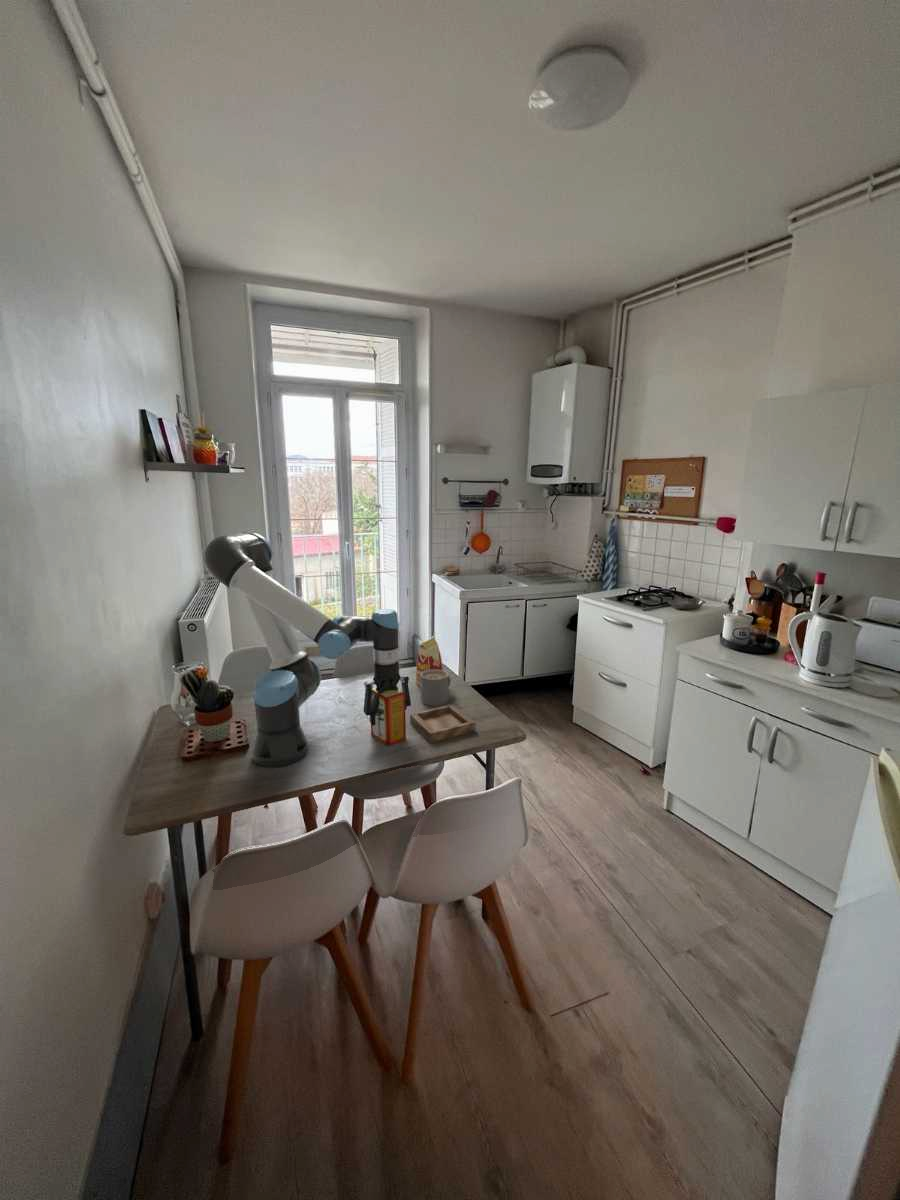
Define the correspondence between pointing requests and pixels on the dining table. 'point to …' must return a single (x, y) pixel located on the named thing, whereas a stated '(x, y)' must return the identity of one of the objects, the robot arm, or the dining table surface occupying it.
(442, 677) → the coffee mug
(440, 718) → the tray
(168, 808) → the dining table surface
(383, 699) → the baking soda box
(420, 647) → the milk carton
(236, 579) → the robot arm
